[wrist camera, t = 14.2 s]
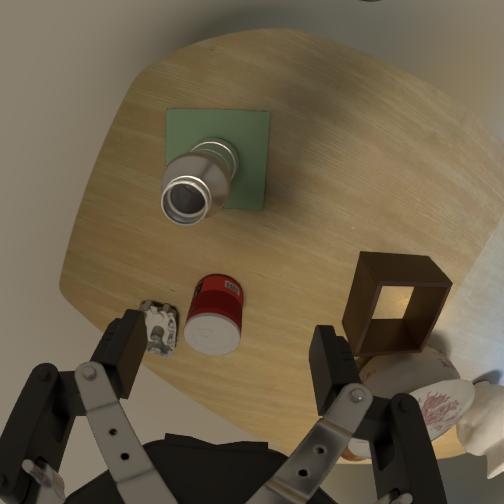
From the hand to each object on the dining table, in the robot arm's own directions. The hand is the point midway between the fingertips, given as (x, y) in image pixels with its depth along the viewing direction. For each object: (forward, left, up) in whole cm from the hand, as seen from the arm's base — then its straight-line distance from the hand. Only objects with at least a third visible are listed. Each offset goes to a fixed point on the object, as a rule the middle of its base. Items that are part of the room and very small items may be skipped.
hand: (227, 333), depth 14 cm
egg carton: (+28, -14, -32) cm, 45 cm away
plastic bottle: (-2, -4, -32) cm, 32 cm away
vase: (+55, +73, -32) cm, 97 cm away
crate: (+18, +26, -32) cm, 45 cm away
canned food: (+20, -3, -32) cm, 38 cm away
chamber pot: (+39, +35, -32) cm, 61 cm away
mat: (-2, -4, -32) cm, 33 cm away
